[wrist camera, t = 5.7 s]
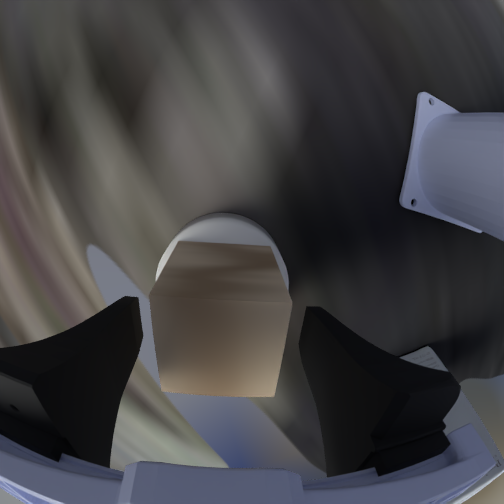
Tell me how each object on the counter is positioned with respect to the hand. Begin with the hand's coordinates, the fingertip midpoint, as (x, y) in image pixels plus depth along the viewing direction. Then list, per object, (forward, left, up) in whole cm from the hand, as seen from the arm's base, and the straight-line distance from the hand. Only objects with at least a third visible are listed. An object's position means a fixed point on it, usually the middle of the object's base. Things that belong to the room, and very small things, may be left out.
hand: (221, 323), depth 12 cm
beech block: (0, 0, -3) cm, 3 cm away
